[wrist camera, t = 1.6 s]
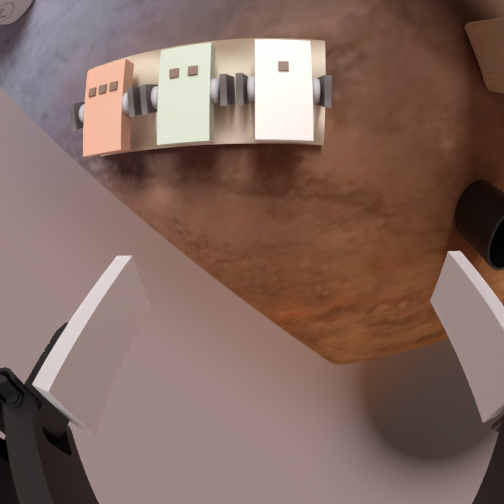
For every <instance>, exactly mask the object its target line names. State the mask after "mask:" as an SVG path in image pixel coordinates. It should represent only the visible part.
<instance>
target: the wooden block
mask: <svg viewBox="0 0 504 504" xmlns="http://www.w3.org/2000/svg"><path fill="white" fill-rule="evenodd" d="M464 28H465V31H466V34H467V36H468V38H469V41H470V43H471V46H472V48H473V51H474V53H475V56H476V59H477V61H478V64H479V67H480V70H481V73H482V76H483V80H484V83H485V86H486V87H487V89H488V90H490V91H492V92H497V93H502V94H504V17H503V18H494V19H486V20H479V21H473V22H468V23H467V24H466V25H465V26H464Z"/></svg>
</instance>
